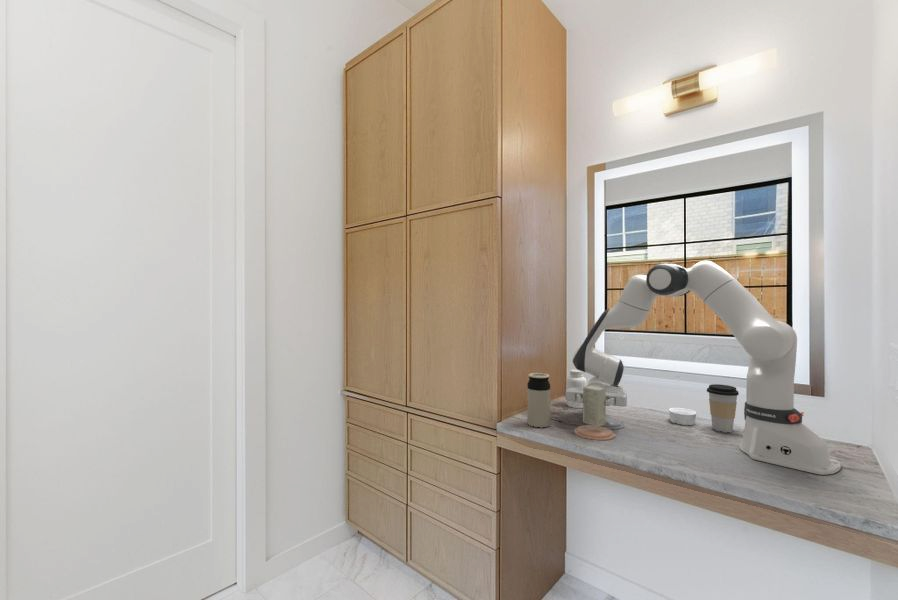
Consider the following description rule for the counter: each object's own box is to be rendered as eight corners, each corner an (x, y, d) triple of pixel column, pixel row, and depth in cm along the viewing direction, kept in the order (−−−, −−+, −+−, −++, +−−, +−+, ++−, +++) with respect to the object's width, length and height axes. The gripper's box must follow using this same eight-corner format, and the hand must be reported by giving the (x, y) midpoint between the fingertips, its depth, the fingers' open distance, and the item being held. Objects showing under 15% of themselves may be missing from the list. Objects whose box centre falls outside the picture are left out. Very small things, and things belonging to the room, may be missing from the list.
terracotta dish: (623, 435, 138) (623, 432, 138) (598, 443, 131) (598, 439, 131) (591, 425, 149) (591, 421, 149) (566, 431, 142) (566, 428, 142)
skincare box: (605, 424, 139) (606, 388, 139) (597, 427, 136) (598, 390, 136) (589, 419, 144) (590, 384, 144) (581, 421, 142) (582, 386, 141)
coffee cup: (744, 435, 139) (744, 390, 139) (712, 433, 141) (713, 388, 141) (730, 426, 148) (731, 384, 148) (701, 424, 150) (702, 383, 150)
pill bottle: (563, 403, 179) (564, 369, 178) (581, 403, 179) (581, 368, 179) (571, 408, 171) (571, 372, 171) (589, 408, 172) (590, 372, 171)
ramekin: (702, 424, 150) (702, 412, 150) (684, 427, 147) (684, 415, 147) (680, 418, 159) (680, 406, 159) (663, 420, 155) (663, 409, 155)
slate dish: (631, 425, 149) (631, 422, 149) (608, 432, 142) (608, 428, 142) (600, 416, 160) (600, 413, 160) (578, 422, 153) (578, 418, 153)
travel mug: (554, 425, 148) (555, 375, 148) (539, 429, 144) (539, 377, 144) (538, 420, 155) (538, 371, 155) (522, 423, 150) (522, 374, 150)
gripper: (567, 381, 156) (562, 389, 143) (627, 387, 148) (626, 395, 135) (567, 398, 156) (562, 407, 143) (627, 404, 148) (626, 415, 135)
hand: (594, 402), depth 139 cm, fingers closed on skincare box, 7 cm apart
